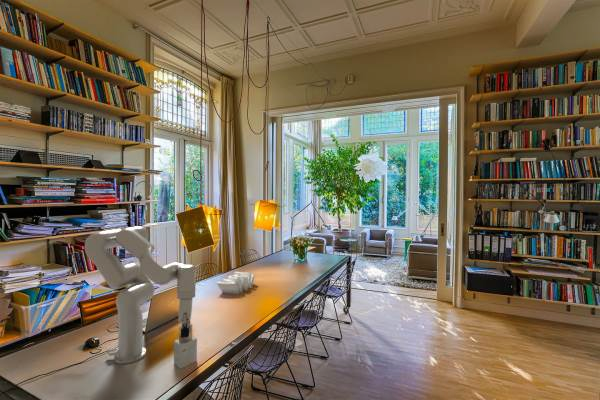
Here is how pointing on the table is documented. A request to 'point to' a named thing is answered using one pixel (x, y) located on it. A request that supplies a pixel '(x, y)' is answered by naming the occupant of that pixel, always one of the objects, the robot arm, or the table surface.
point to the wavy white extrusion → (236, 283)
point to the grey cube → (185, 339)
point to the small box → (185, 352)
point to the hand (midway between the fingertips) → (185, 331)
